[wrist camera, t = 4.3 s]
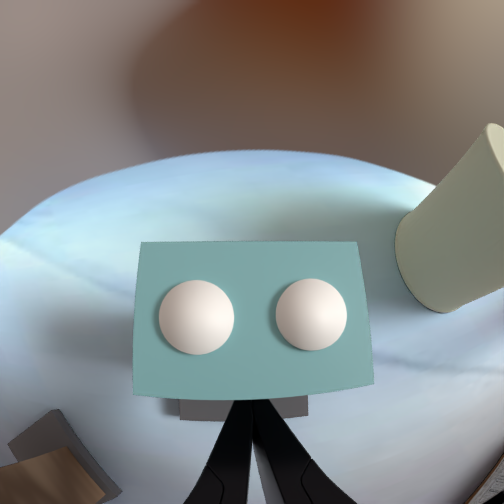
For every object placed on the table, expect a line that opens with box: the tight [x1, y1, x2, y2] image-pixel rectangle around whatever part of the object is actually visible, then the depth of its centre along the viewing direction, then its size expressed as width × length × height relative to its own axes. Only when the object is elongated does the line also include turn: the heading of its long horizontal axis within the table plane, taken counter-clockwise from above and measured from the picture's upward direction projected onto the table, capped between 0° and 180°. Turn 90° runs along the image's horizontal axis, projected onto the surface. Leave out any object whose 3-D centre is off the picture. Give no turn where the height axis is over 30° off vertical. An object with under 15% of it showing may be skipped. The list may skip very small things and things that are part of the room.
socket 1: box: [8, 409, 122, 504], centre depth 10 cm, size 7×7×1 cm
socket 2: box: [179, 395, 308, 421], centre depth 15 cm, size 7×7×1 cm
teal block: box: [133, 241, 374, 400], centre depth 11 cm, size 4×6×9 cm, turn 92°
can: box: [395, 123, 504, 313], centre depth 14 cm, size 9×9×12 cm
